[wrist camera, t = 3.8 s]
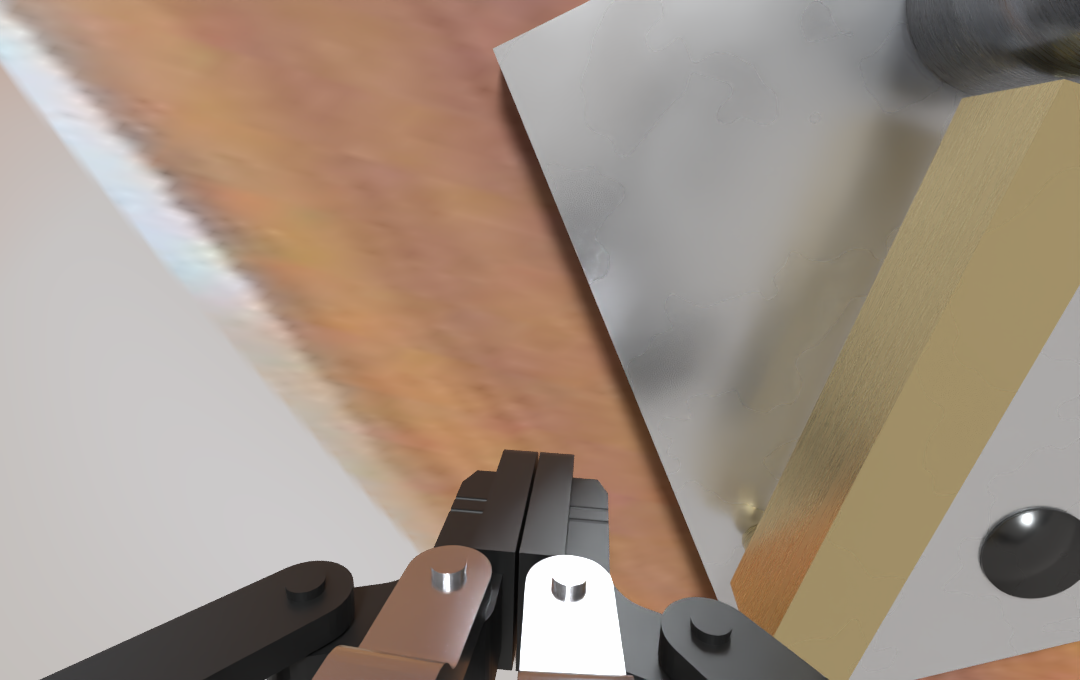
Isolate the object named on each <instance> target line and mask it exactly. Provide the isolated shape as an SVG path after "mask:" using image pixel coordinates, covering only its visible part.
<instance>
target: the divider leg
mask: <svg viewBox="0 0 1080 680" xmlns="http://www.w3.org/2000/svg"><path fill="white" fill-rule="evenodd" d="M1079 285H1080V84H1079V83H1076V82H1072V81H1069V80H1066V79H1062V80H1057V81H1052V82H1046V83H1041V84H1036V85H1030V86H1025V87H1020V88H1014V89H1009V90H1004V91H998V92H993V93H988V94H982V95H977V96H972V97H966V98H962V99H961V101H960V104H959V106H958V108H957V110H956V112H955V114H954V116H953V118H952V120H951V122H950V124H949V127H948V129H947V131H946V133H945V135H944V137H943V139H942V141H941V143H940V145H939V147H938V149H937V152H936V154H935V156H934V158H933V160H932V162H931V164H930V166H929V168H928V170H927V172H926V175H925V177H924V179H923V181H922V183H921V185H920V187H919V189H918V191H917V193H916V195H915V198H914V200H913V202H912V204H911V206H910V208H909V210H908V212H907V214H906V216H905V218H904V221H903V223H902V225H901V227H900V229H899V231H898V233H897V235H896V237H895V239H894V241H893V243H892V246H891V248H890V250H889V252H888V254H887V256H886V258H885V260H884V262H883V264H882V266H881V269H880V271H879V273H878V275H877V277H876V279H875V281H874V283H873V285H872V287H871V289H870V292H869V294H868V296H867V298H866V300H865V302H864V304H863V306H862V308H861V310H860V312H859V314H858V317H857V319H856V321H855V323H854V325H853V327H852V329H851V331H850V333H849V335H848V337H847V340H846V342H845V344H844V346H843V348H842V350H841V352H840V354H839V356H838V358H837V360H836V363H835V365H834V367H833V369H832V371H831V373H830V375H829V377H828V379H827V381H826V383H825V385H824V388H823V390H822V392H821V394H820V396H819V398H818V400H817V402H816V404H815V406H814V408H813V411H812V413H811V415H810V417H809V419H808V421H807V423H806V425H805V427H804V429H803V431H802V434H801V436H800V438H799V440H798V442H797V444H796V446H795V448H794V450H793V452H792V454H791V456H790V459H789V461H788V463H787V465H786V467H785V469H784V471H783V473H782V475H781V477H780V479H779V482H778V484H777V486H776V488H775V490H774V492H773V494H772V496H771V498H770V500H769V502H768V505H767V507H766V509H765V511H764V513H763V515H762V517H761V519H760V521H759V523H758V524H755V525H753V526H751V527H749V528H748V529H747V530H746V531H745V532H744V534H743V536H742V545H743V547H744V550H745V553H744V555H743V557H742V559H741V561H740V563H739V565H738V567H737V569H736V571H735V573H734V576H733V578H732V580H731V582H730V585H731V588H732V591H733V594H734V597H735V601H736V604H737V607H738V610H739V611H740V612H741V613H743V614H744V615H745V616H747V617H748V618H749V619H751V620H752V621H753V622H754V623H756V624H757V625H758V626H760V627H761V628H762V629H764V630H765V631H766V632H767V633H769V634H770V635H771V636H773V637H774V638H775V639H777V640H778V641H779V642H781V643H782V644H783V645H784V646H786V647H787V648H788V649H790V650H791V651H792V652H794V653H795V654H796V655H798V656H799V657H800V658H801V659H803V660H804V661H805V662H807V663H808V664H809V665H811V666H812V667H813V668H814V669H816V670H817V671H818V672H820V673H821V674H822V675H824V676H825V677H826V678H828V679H829V680H849V678H850V676H851V675H852V673H853V671H854V670H855V668H856V666H857V665H858V663H859V661H860V659H861V658H862V656H863V654H864V653H865V651H866V649H867V647H868V646H869V644H870V642H871V641H872V639H873V637H874V635H875V634H876V632H877V630H878V629H879V627H880V625H881V624H882V622H883V620H884V618H885V617H886V615H887V613H888V612H889V610H890V608H891V606H892V605H893V603H894V601H895V600H896V598H897V596H898V594H899V593H900V591H901V589H902V588H903V586H904V584H905V583H906V581H907V579H908V577H909V576H910V574H911V572H912V571H913V569H914V567H915V565H916V564H917V562H918V560H919V559H920V557H921V555H922V553H923V552H924V550H925V548H926V547H927V545H928V543H929V541H930V540H931V538H932V536H933V535H934V533H935V531H936V530H937V528H938V526H939V524H940V523H941V521H942V519H943V518H944V516H945V514H946V512H947V511H948V509H949V507H950V506H951V504H952V502H953V500H954V499H955V497H956V495H957V494H958V492H959V490H960V489H961V487H962V485H963V483H964V482H965V480H966V478H967V477H968V475H969V473H970V471H971V470H972V468H973V466H974V465H975V463H976V461H977V459H978V458H979V456H980V454H981V453H982V451H983V449H984V448H985V446H986V444H987V442H988V441H989V439H990V437H991V436H992V434H993V432H994V430H995V429H996V427H997V425H998V424H999V422H1000V420H1001V418H1002V417H1003V415H1004V413H1005V412H1006V410H1007V408H1008V407H1009V405H1010V403H1011V401H1012V400H1013V398H1014V396H1015V395H1016V393H1017V391H1018V389H1019V388H1020V386H1021V384H1022V383H1023V381H1024V379H1025V377H1026V376H1027V374H1028V372H1029V371H1030V369H1031V367H1032V366H1033V364H1034V362H1035V360H1036V359H1037V357H1038V355H1039V354H1040V352H1041V350H1042V348H1043V347H1044V345H1045V343H1046V342H1047V340H1048V338H1049V336H1050V335H1051V333H1052V331H1053V330H1054V328H1055V326H1056V325H1057V323H1058V321H1059V319H1060V318H1061V316H1062V314H1063V313H1064V311H1065V309H1066V307H1067V306H1068V304H1069V302H1070V301H1071V299H1072V297H1073V295H1074V294H1075V292H1076V290H1077V289H1078V287H1079Z"/></svg>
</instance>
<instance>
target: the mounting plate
mask: <svg viewBox="0 0 1080 680" xmlns="http://www.w3.org/2000/svg"><path fill="white" fill-rule="evenodd" d="M493 50H494V53H495V55H496V58H497V60H498V63H499V65H500V68H501V70H502V72H503V75H504V77H505V80H506V82H507V85H508V87H509V90H510V92H511V94H512V97H513V99H514V102H515V104H516V107H517V109H518V112H519V114H520V117H521V119H522V121H523V124H524V126H525V129H526V131H527V134H528V136H529V139H530V141H531V143H532V146H533V148H534V151H535V153H536V156H537V158H538V161H539V163H540V165H541V168H542V170H543V173H544V175H545V178H546V180H547V183H548V185H549V188H550V190H551V192H552V195H553V197H554V200H555V202H556V205H557V207H558V210H559V212H560V214H561V217H562V219H563V222H564V224H565V227H566V229H567V232H568V234H569V237H570V239H571V241H572V244H573V246H574V249H575V251H576V254H577V256H578V259H579V261H580V263H581V266H582V268H583V271H584V273H585V276H586V278H587V281H588V283H589V285H590V288H591V290H592V293H593V295H594V298H595V300H596V303H597V305H598V308H599V310H600V312H601V315H602V317H603V320H604V322H605V325H606V327H607V330H608V332H609V334H610V337H611V339H612V342H613V344H614V347H615V349H616V352H617V354H618V356H619V359H620V361H621V364H622V366H623V369H624V371H625V374H626V376H627V379H628V381H629V383H630V386H631V388H632V391H633V393H634V396H635V398H636V401H637V403H638V405H639V408H640V410H641V413H642V415H643V418H644V420H645V423H646V425H647V428H648V430H649V432H650V435H651V437H652V440H653V442H654V445H655V447H656V450H657V452H658V454H659V457H660V459H661V462H662V464H663V467H664V469H665V472H666V474H667V476H668V479H669V481H670V484H671V486H672V489H673V491H674V494H675V496H676V499H677V501H678V503H679V506H680V508H681V511H682V513H683V516H684V518H685V521H686V523H687V525H688V528H689V530H690V533H691V535H692V538H693V540H694V543H695V545H696V548H697V550H698V552H699V555H700V557H701V560H702V562H703V565H704V567H705V570H706V572H707V574H708V577H709V579H710V582H711V584H712V587H713V589H714V592H715V594H716V596H717V599H718V601H720V602H723V603H725V604H728V605H730V606H732V607H734V608H735V609H737V610H738V607H737V604H736V601H735V597H734V594H733V591H732V588H731V585H730V582H731V580H732V578H733V576H734V573H735V571H736V569H737V567H738V565H739V563H740V561H741V559H742V557H743V555H744V553H745V550H744V547H743V545H742V536H743V534H744V532H745V531H746V530H747V529H748V528H749V527H751V526H753V525H755V524H758V523H759V521H760V519H761V517H762V515H763V513H764V511H765V509H766V507H767V505H768V502H769V500H770V498H771V496H772V494H773V492H774V490H775V488H776V486H777V484H778V482H779V479H780V477H781V475H782V473H783V471H784V469H785V467H786V465H787V463H788V461H789V459H790V456H791V454H792V452H793V450H794V448H795V446H796V444H797V442H798V440H799V438H800V436H801V434H802V431H803V429H804V427H805V425H806V423H807V421H808V419H809V417H810V415H811V413H812V411H813V408H814V406H815V404H816V402H817V400H818V398H819V396H820V394H821V392H822V390H823V388H824V385H825V383H826V381H827V379H828V377H829V375H830V373H831V371H832V369H833V367H834V365H835V363H836V360H837V358H838V356H839V354H840V352H841V350H842V348H843V346H844V344H845V342H846V340H847V337H848V335H849V333H850V331H851V329H852V327H853V325H854V323H855V321H856V319H857V317H858V314H859V312H860V310H861V308H862V306H863V304H864V302H865V300H866V298H867V296H868V294H869V292H870V289H871V287H872V285H873V283H874V281H875V279H876V277H877V275H878V273H879V271H880V269H881V266H882V264H883V262H884V260H885V258H886V256H887V254H888V252H889V250H890V248H891V246H892V243H893V241H894V239H895V237H896V235H897V233H898V231H899V229H900V227H901V225H902V223H903V221H904V218H905V216H906V214H907V212H908V210H909V208H910V206H911V204H912V202H913V200H914V198H915V195H916V193H917V191H918V189H919V187H920V185H921V183H922V181H923V179H924V177H925V175H926V172H927V170H928V168H929V166H930V164H931V162H932V160H933V158H934V156H935V154H936V152H937V149H938V147H939V145H940V143H941V141H942V139H943V137H944V135H945V133H946V131H947V129H948V127H949V124H950V122H951V120H952V118H953V116H954V114H955V112H956V110H957V108H958V106H959V104H960V101H961V99H962V98H966V97H972V96H977V95H982V94H988V93H993V92H998V91H1004V90H1009V89H1014V88H1020V87H1025V86H1030V85H1036V84H1041V83H1046V82H1052V81H1057V80H1062V79H1066V80H1069V81H1072V82H1076V83H1079V84H1080V0H590V1H588V2H586V3H584V4H582V5H580V6H578V7H576V8H574V9H572V10H570V11H568V12H566V13H564V14H562V15H560V16H558V17H556V18H554V19H552V20H550V21H548V22H546V23H544V24H542V25H540V26H538V27H536V28H534V29H532V30H530V31H528V32H526V33H524V34H522V35H520V36H518V37H516V38H514V39H512V40H510V41H508V42H506V43H504V44H502V45H500V46H498V47H496V48H494V49H493ZM738 611H739V610H738ZM1076 641H1080V285H1079V287H1078V289H1077V290H1076V292H1075V294H1074V295H1073V297H1072V299H1071V301H1070V302H1069V304H1068V306H1067V307H1066V309H1065V311H1064V313H1063V314H1062V316H1061V318H1060V319H1059V321H1058V323H1057V325H1056V326H1055V328H1054V330H1053V331H1052V333H1051V335H1050V336H1049V338H1048V340H1047V342H1046V343H1045V345H1044V347H1043V348H1042V350H1041V352H1040V354H1039V355H1038V357H1037V359H1036V360H1035V362H1034V364H1033V366H1032V367H1031V369H1030V371H1029V372H1028V374H1027V376H1026V377H1025V379H1024V381H1023V383H1022V384H1021V386H1020V388H1019V389H1018V391H1017V393H1016V395H1015V396H1014V398H1013V400H1012V401H1011V403H1010V405H1009V407H1008V408H1007V410H1006V412H1005V413H1004V415H1003V417H1002V418H1001V420H1000V422H999V424H998V425H997V427H996V429H995V430H994V432H993V434H992V436H991V437H990V439H989V441H988V442H987V444H986V446H985V448H984V449H983V451H982V453H981V454H980V456H979V458H978V459H977V461H976V463H975V465H974V466H973V468H972V470H971V471H970V473H969V475H968V477H967V478H966V480H965V482H964V483H963V485H962V487H961V489H960V490H959V492H958V494H957V495H956V497H955V499H954V500H953V502H952V504H951V506H950V507H949V509H948V511H947V512H946V514H945V516H944V518H943V519H942V521H941V523H940V524H939V526H938V528H937V530H936V531H935V533H934V535H933V536H932V538H931V540H930V541H929V543H928V545H927V547H926V548H925V550H924V552H923V553H922V555H921V557H920V559H919V560H918V562H917V564H916V565H915V567H914V569H913V571H912V572H911V574H910V576H909V577H908V579H907V581H906V583H905V584H904V586H903V588H902V589H901V591H900V593H899V594H898V596H897V598H896V600H895V601H894V603H893V605H892V606H891V608H890V610H889V612H888V613H887V615H886V617H885V618H884V620H883V622H882V624H881V625H880V627H879V629H878V630H877V632H876V634H875V635H874V637H873V639H872V641H871V642H870V644H869V646H868V647H867V649H866V651H865V653H864V654H863V656H862V658H861V659H860V661H859V663H858V665H857V666H856V668H855V670H854V671H853V673H852V675H851V676H850V678H849V680H915V679H919V678H923V677H928V676H932V675H936V674H940V673H945V672H949V671H953V670H957V669H962V668H966V667H970V666H974V665H978V664H983V663H987V662H991V661H995V660H1000V659H1004V658H1008V657H1012V656H1017V655H1021V654H1025V653H1029V652H1033V651H1038V650H1042V649H1046V648H1050V647H1055V646H1059V645H1063V644H1067V643H1071V642H1076Z"/></svg>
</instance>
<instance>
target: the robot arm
mask: <svg viewBox="0 0 1080 680" xmlns="http://www.w3.org/2000/svg"><path fill="white" fill-rule="evenodd" d="M573 468H574V455H572V454H558V453H545V452H541V453H540V456H539V461H538V452H531V451H517V450H504V451H503V454H502V457H501V460H500V463H499V466H498V469H497V472H491V471H479V470H478V471H476V472H475V473H474V474H472V475H471V476H470V477H468V478H467V479H466V480H464V481H463V482H462V484H461V487H460V489H459V491H458V493H457V496H456V499H455V500H454V503H453V505H452V507H451V511H450V512H449V514H448V516H447V519H446V521H445V523H444V526H443V528H442V530H441V532H440V535H439V537H438V539H437V542H436V544H435V546H434V548H432V549H429V550H427V551H425V552H423V553H421V554H419V555H418V556H416V557H415V558H414V559H413V560H412V561H411V562H410V564H409V565H408V566H407V568H406V570H405V571H404V573H403V575H402V576H401V578H400V579H399V580H397V581H393V582H389V583H383V584H377V585H369V586H362V587H354V584H353V577H352V575H351V573H350V572H349V571H348V569H346V568H345V567H344V566H342V565H340V564H338V563H334V562H329V561H309V562H304V563H300V564H296V565H293V566H291V567H288V568H285V569H283V570H281V571H279V572H277V573H275V574H273V575H270V576H268V577H266V578H263V579H261V580H259V581H257V582H255V583H252V584H250V585H248V586H246V587H243V588H241V589H239V590H237V591H235V592H232V593H230V594H228V595H226V596H224V597H221V598H219V599H217V600H215V601H213V602H210V603H208V604H206V605H204V606H202V607H199V608H198V609H195V610H193V611H191V612H188V613H186V614H184V615H182V616H180V617H177V618H175V619H173V620H171V621H168V622H167V623H164V624H162V625H160V626H158V627H155V628H153V629H151V630H149V631H146V632H144V633H142V634H140V635H138V636H135V637H133V638H131V639H129V640H127V641H124V642H122V643H120V644H118V645H116V646H113V647H111V648H109V649H107V650H105V651H102V652H100V653H98V654H96V655H93V656H91V657H89V658H87V659H85V660H83V661H80V662H78V663H76V664H74V665H72V666H69V667H67V668H65V669H63V670H60V671H58V672H56V673H54V674H52V675H49V676H47V677H45V678H43V679H41V680H265V679H267V680H495V677H496V672H497V669H503V670H512V667H513V661H514V656H515V650H516V671H518V680H829V679H828V678H826V677H825V676H824V675H822V674H821V673H820V672H818V671H817V670H816V669H814V668H813V667H812V666H811V665H809V664H808V663H807V662H805V661H804V660H803V659H801V658H800V657H799V656H798V655H796V654H795V653H794V652H792V651H791V650H790V649H788V648H787V647H786V646H784V645H783V644H782V643H781V642H779V641H778V640H777V639H775V638H774V637H773V636H771V635H770V634H769V633H767V632H766V631H765V630H764V629H762V628H761V627H760V626H758V625H757V624H756V623H754V622H753V621H752V620H751V619H749V618H748V617H747V616H745V615H744V614H743V613H741V612H740V611H738V610H737V609H735V608H734V607H732V606H730V605H728V604H725V603H723V602H720V601H717V600H714V599H709V598H701V597H691V598H684V599H681V600H678V601H675V602H674V603H672V604H670V605H669V606H668V607H667V608H666V609H665V611H664V613H663V614H661V613H658V612H655V611H652V610H649V609H646V608H644V607H641V606H639V605H637V604H635V603H633V602H631V601H630V600H628V599H627V598H625V597H624V596H623V595H622V594H621V593H620V592H619V591H618V590H617V589H616V587H615V586H614V584H613V582H612V579H611V577H610V567H609V524H608V493H607V492H606V490H605V489H604V488H603V486H602V485H601V484H600V482H599V481H598V480H594V479H582V478H573ZM516 644H517V649H516Z"/></svg>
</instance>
